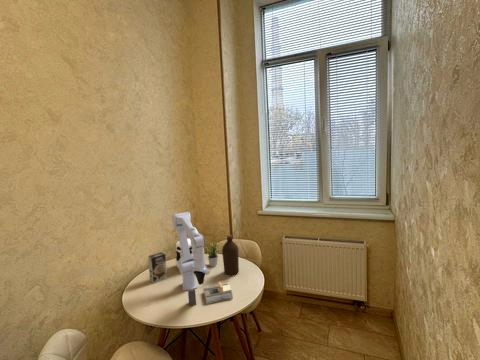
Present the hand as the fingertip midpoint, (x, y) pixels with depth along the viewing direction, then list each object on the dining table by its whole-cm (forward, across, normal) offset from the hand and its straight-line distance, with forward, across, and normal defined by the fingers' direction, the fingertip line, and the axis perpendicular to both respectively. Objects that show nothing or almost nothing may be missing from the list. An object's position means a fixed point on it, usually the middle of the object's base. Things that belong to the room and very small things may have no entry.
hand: (200, 283), depth 134 cm
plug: (+9, -1, -5) cm, 11 cm away
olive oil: (+10, -12, +32) cm, 36 cm away
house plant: (+10, -30, +33) cm, 45 cm away
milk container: (+10, -43, +19) cm, 48 cm away
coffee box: (+10, -42, -4) cm, 43 cm away
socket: (+9, +2, +9) cm, 13 cm away
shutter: (+7, +5, +13) cm, 15 cm away
